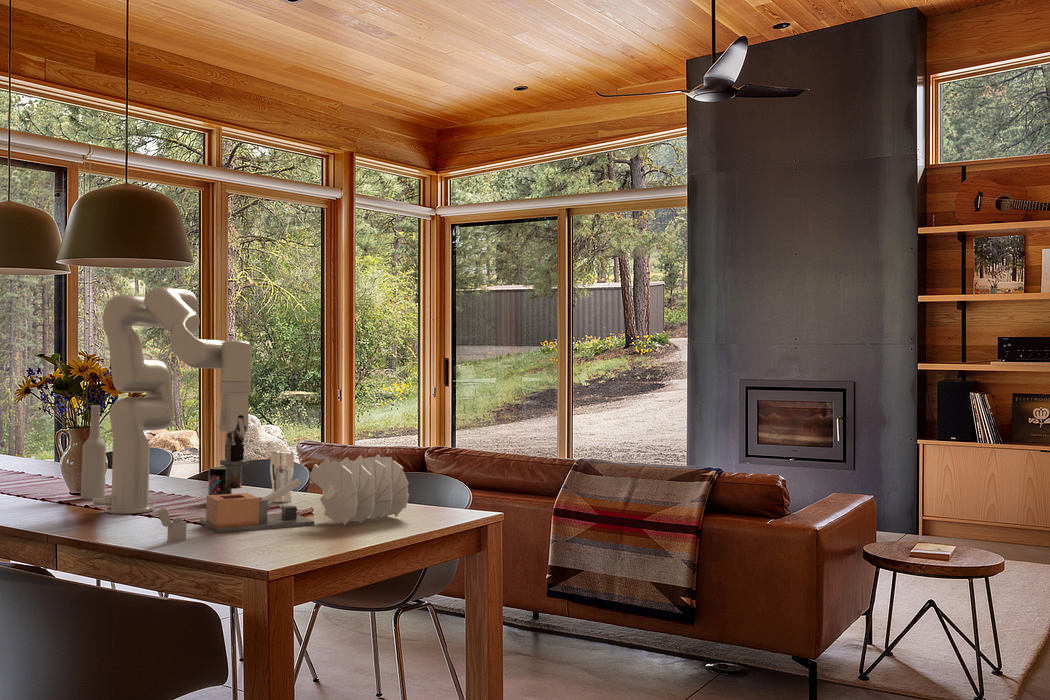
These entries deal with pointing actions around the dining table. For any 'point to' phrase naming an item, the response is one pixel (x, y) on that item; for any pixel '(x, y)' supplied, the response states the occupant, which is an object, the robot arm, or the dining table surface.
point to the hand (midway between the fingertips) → (234, 459)
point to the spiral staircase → (361, 488)
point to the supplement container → (217, 481)
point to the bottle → (93, 460)
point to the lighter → (173, 526)
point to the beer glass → (281, 472)
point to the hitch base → (262, 525)
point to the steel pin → (233, 468)
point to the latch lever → (283, 490)
